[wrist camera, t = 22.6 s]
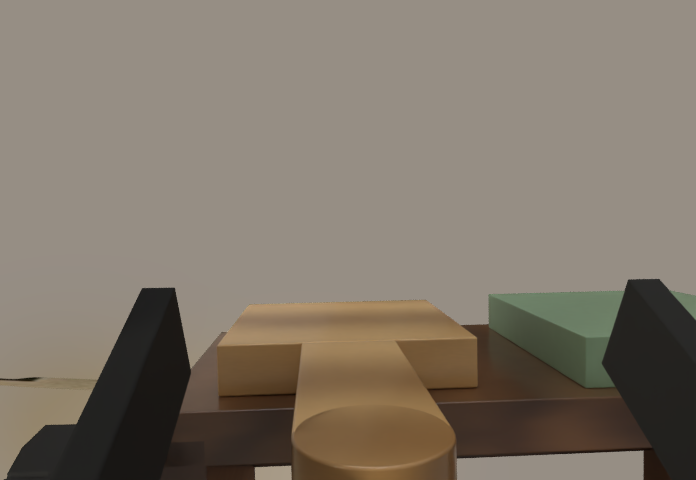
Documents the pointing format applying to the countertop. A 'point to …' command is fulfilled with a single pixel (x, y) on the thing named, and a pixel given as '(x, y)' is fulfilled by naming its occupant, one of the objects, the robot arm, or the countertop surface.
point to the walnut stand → (456, 403)
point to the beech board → (355, 383)
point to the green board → (565, 328)
